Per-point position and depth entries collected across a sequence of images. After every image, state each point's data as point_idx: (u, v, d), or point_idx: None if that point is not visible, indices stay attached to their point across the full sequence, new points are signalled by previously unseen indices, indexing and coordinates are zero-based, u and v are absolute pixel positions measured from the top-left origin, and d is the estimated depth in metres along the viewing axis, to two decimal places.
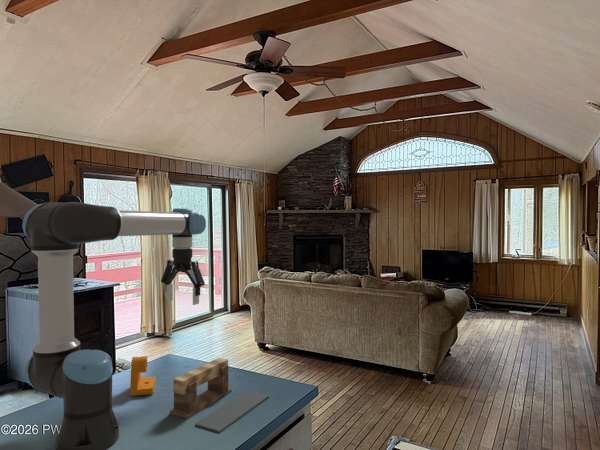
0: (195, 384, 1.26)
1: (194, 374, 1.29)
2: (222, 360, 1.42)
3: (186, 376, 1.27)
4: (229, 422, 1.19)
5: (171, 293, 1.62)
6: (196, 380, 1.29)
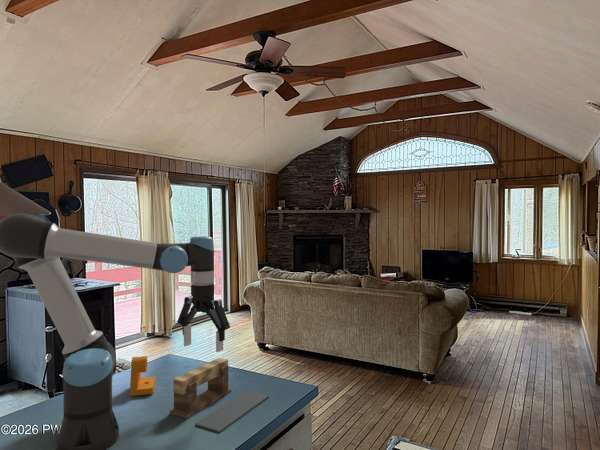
0: (195, 384, 1.26)
1: (194, 374, 1.29)
2: (222, 360, 1.42)
3: (186, 376, 1.27)
4: (229, 422, 1.19)
5: (189, 336, 1.38)
6: (196, 380, 1.29)
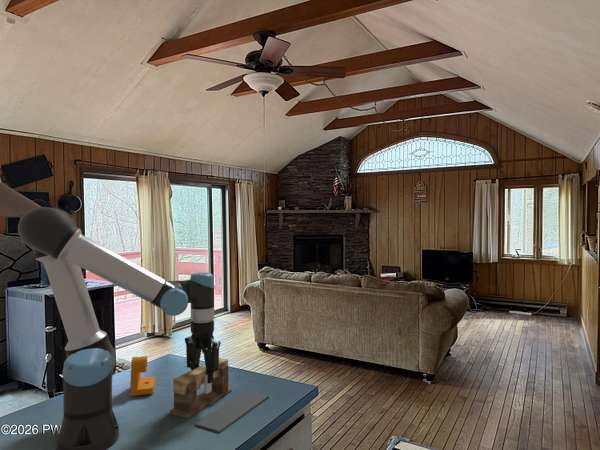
0: (195, 384, 1.26)
1: (194, 374, 1.29)
2: (222, 360, 1.42)
3: (186, 376, 1.27)
4: (229, 422, 1.19)
5: None
6: (196, 380, 1.29)
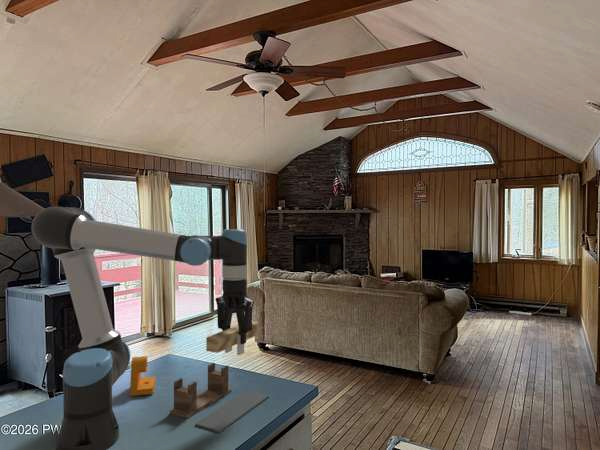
0: (195, 384, 1.26)
1: (227, 333, 1.23)
2: (253, 322, 1.36)
3: (220, 335, 1.21)
4: (229, 422, 1.19)
5: None
6: (229, 339, 1.22)
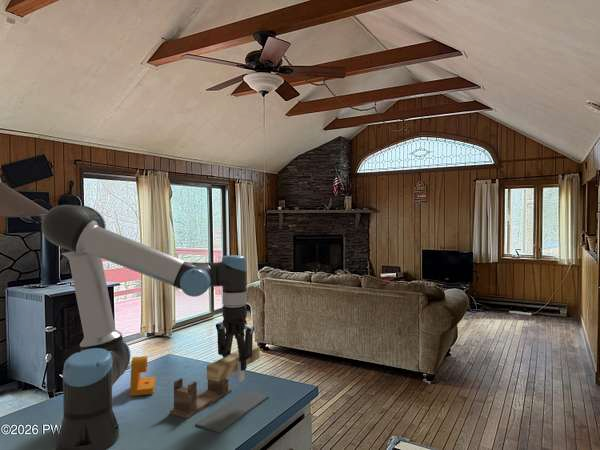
0: (195, 384, 1.26)
1: (227, 361, 1.23)
2: (253, 347, 1.36)
3: (220, 362, 1.21)
4: (229, 422, 1.19)
5: None
6: (230, 367, 1.23)
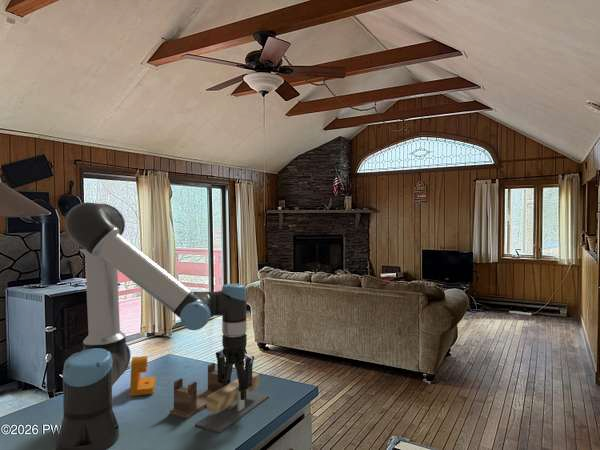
0: (195, 384, 1.26)
1: (227, 391, 1.23)
2: (253, 374, 1.36)
3: (220, 393, 1.22)
4: (229, 422, 1.19)
5: None
6: (230, 397, 1.23)
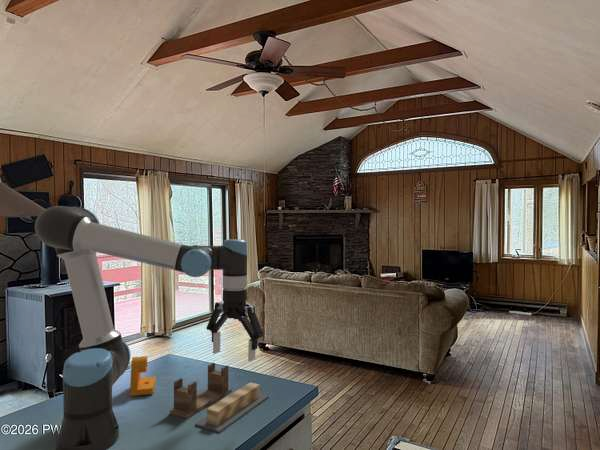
0: (195, 384, 1.26)
1: (228, 403, 1.23)
2: (253, 385, 1.36)
3: (220, 405, 1.22)
4: (229, 422, 1.19)
5: (219, 343, 1.31)
6: (230, 409, 1.23)
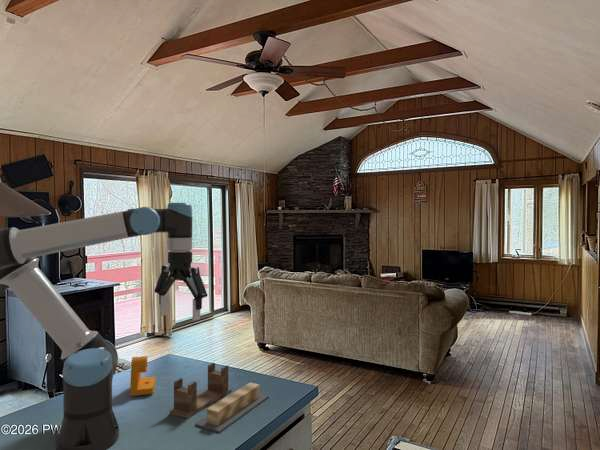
0: (195, 384, 1.26)
1: (228, 403, 1.23)
2: (253, 385, 1.36)
3: (220, 405, 1.22)
4: (229, 422, 1.19)
5: (167, 305, 1.34)
6: (230, 409, 1.23)
